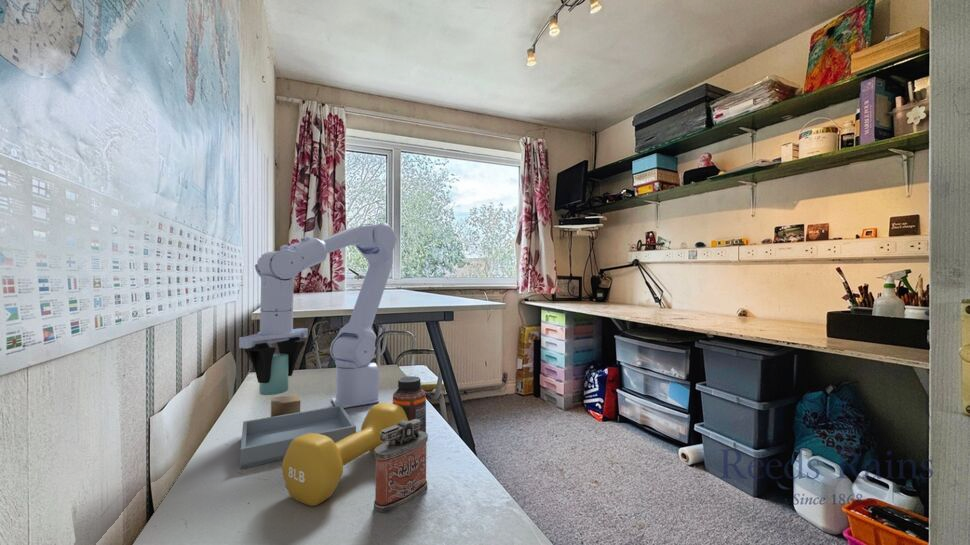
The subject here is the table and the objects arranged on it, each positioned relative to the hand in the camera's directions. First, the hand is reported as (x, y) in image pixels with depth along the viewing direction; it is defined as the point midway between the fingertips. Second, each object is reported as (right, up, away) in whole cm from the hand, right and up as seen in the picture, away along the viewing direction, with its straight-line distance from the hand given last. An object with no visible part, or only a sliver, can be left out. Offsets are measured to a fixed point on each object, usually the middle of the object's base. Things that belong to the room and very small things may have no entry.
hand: (275, 378), depth 73 cm
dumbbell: (+22, -10, -18) cm, 30 cm away
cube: (+1, -10, +2) cm, 10 cm away
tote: (+8, -9, -7) cm, 14 cm away
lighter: (+31, -9, -24) cm, 40 cm away
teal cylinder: (0, -3, 0) cm, 3 cm away
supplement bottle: (+28, -10, -7) cm, 30 cm away
